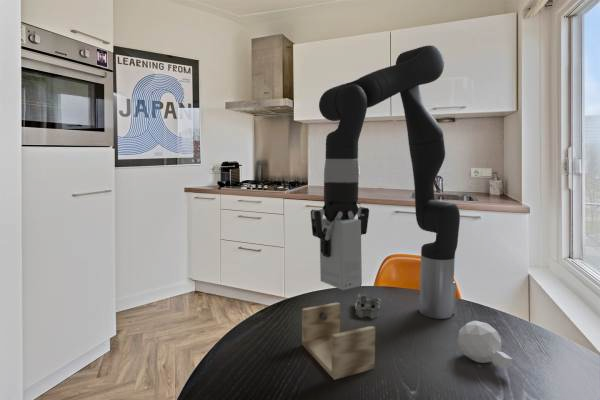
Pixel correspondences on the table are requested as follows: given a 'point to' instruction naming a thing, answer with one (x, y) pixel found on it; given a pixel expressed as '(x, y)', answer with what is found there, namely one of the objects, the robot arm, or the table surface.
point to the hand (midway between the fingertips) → (339, 254)
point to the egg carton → (367, 306)
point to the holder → (337, 342)
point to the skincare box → (343, 255)
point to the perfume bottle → (482, 344)
